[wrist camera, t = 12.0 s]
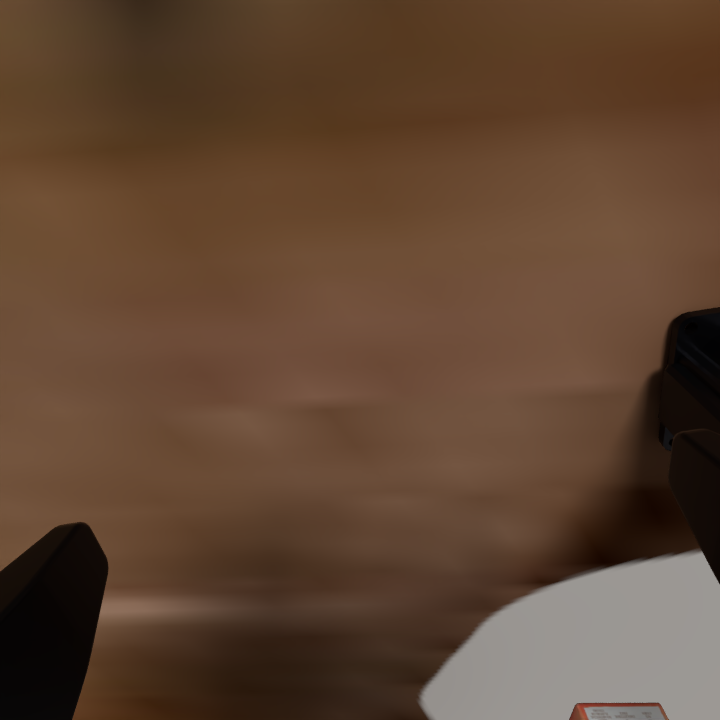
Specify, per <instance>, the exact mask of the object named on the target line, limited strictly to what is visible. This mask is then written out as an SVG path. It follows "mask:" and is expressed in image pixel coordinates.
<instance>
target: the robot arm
mask: <svg viewBox="0 0 720 720" xmlns="http://www.w3.org/2000/svg"><path fill="white" fill-rule="evenodd" d="M691 322H692V325H691V326H690V327H689V328H688V329H686V330H684V329H685V327H686V326H687V325H688V324H689V323H691ZM658 418H659V420H660V421H661V422H660V430H659V442H660V443H661V444H662V445H663V446H664V448H665V449H667V450H669V451H671V456H670V463H669V470H668V481H669V486H670V488H671V491H672V493H673V495H674V497H675V499H676V501H677V503H678V505H679V507H680V509H681V511H682V513H683V515H684V517H685V518H686V520H687V522H688V524H689V526H690V528H691V530H692V532H693V534H694V536H695V538H696V540H697V542H698V544H699V546H700V548H701V550H702V552H703V554H704V556H705V558H706V559H707V561H708V563H709V565H710V567H711V569H712V571H713V573H714V575H715V576H716V578H717V580H718V582H719V584H720V307H718V308H711V309H705V310H699V311H692V312H687V313H684V314H681V315H680V316H678V317H677V318H676V320H675V321H674V323H673V327H672V335H671V343H670V351H669V359H668V365H667V367H666V368H665V370H664V375H663V383H662V391H661V399H660V408H659V416H658ZM672 438H673V440H671V439H672ZM107 576H108V561H107V558H106V555H105V554H104V552H103V550H102V548H101V546H100V544H99V543H98V541H97V539H96V537H95V535H94V533H93V532H92V530H91V528H90V527H89V525H87V524H86V523H83V522H77V523H71V524H64V525H60V526H57V527H55V528H54V529H52V530H51V531H50V532H49V533H47V534H46V535H45V536H44V537H42V538H41V539H40V540H39V541H38V542H36V543H35V544H34V545H33V546H31V547H30V548H29V549H28V550H26V551H25V552H24V553H23V554H21V555H20V556H19V557H18V558H17V559H15V560H14V561H13V562H12V563H10V564H9V565H8V566H7V567H5V568H4V569H3V570H2V571H0V720H72V718H73V715H74V712H75V709H76V705H77V702H78V699H79V696H80V693H81V690H82V686H83V683H84V679H85V676H86V673H87V669H88V665H89V661H90V656H91V652H92V647H93V643H94V638H95V633H96V628H97V623H98V619H99V614H100V609H101V604H102V600H103V595H104V590H105V585H106V581H107Z"/></svg>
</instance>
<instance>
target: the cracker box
mask: <svg viewBox="0 0 720 720" xmlns="http://www.w3.org/2000/svg"><path fill="white" fill-rule="evenodd" d="M569 720H669V719H668V718H667V716H666V714H665V712H664V710H663V708H662V706H661V705H660V704H659V703H577V704H576V705H575V707H574V709H573V712H572V714H571V717H570V719H569Z"/></svg>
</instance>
